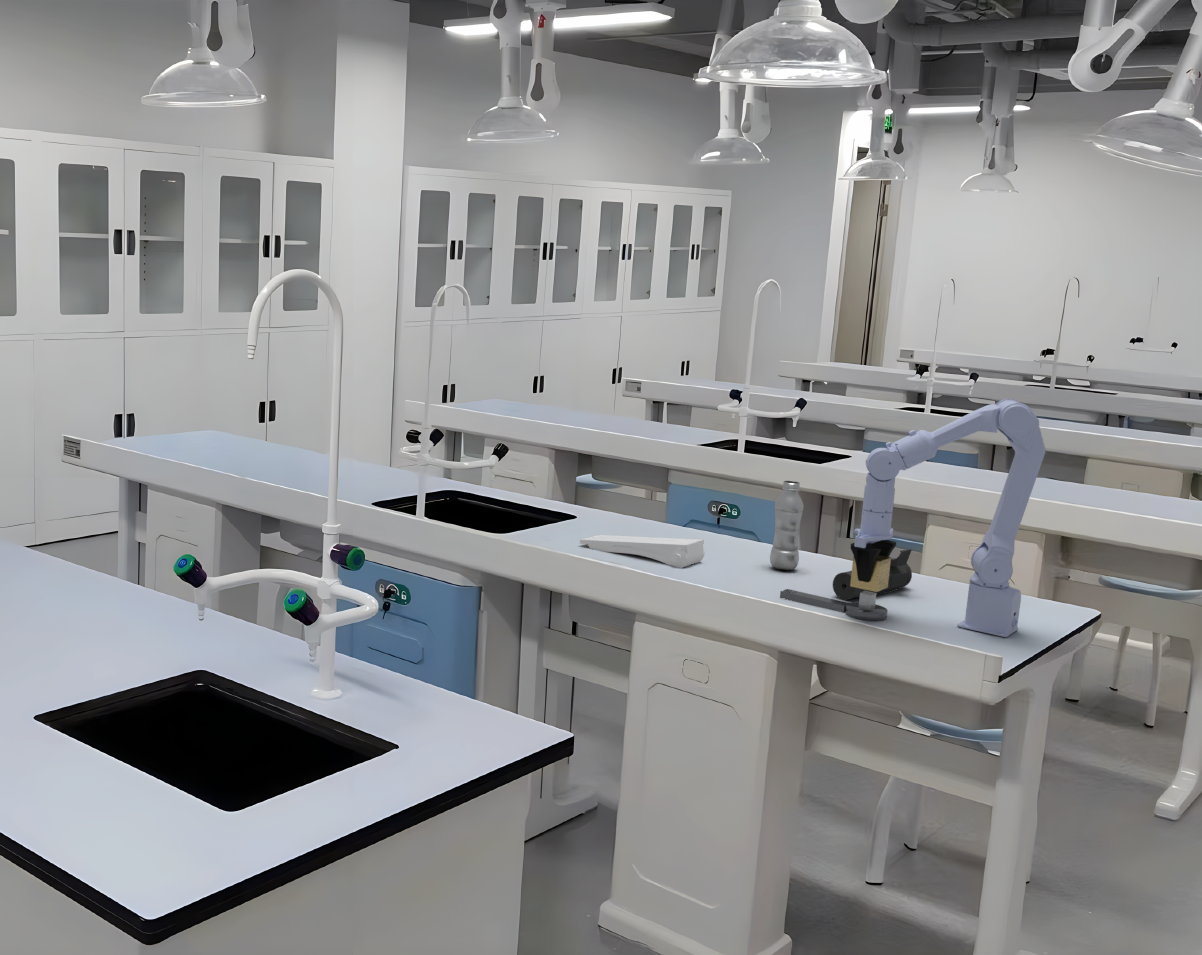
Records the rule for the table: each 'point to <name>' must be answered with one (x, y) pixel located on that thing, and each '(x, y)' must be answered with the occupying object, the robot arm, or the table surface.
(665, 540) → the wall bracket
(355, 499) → the table surface
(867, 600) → the ratchet
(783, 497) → the plastic bottle
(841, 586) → the laser sight
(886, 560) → the wood grain cube
